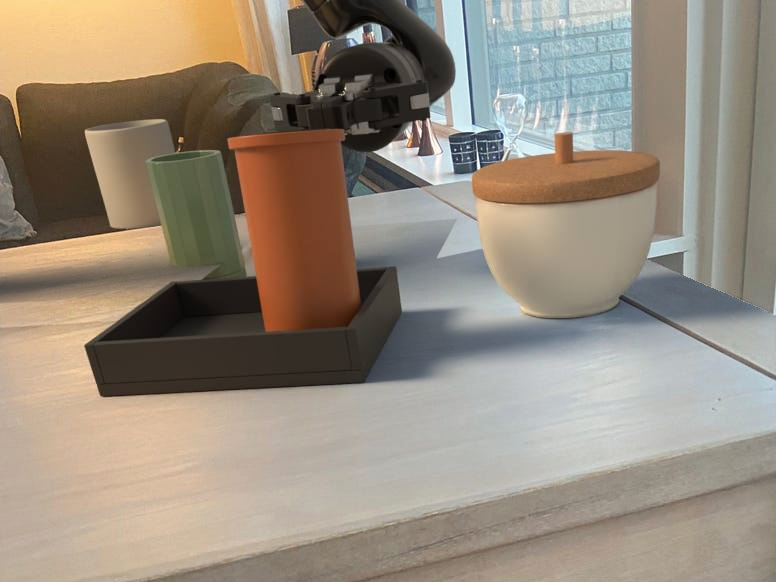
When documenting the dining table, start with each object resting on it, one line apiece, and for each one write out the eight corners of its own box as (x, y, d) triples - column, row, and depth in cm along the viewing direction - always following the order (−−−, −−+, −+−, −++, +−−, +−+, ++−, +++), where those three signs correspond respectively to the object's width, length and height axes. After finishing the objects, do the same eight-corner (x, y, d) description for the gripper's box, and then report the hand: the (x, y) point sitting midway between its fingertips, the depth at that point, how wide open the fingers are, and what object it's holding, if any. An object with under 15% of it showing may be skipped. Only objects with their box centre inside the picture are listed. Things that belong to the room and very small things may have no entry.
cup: (166, 291, 83) (133, 164, 78) (190, 273, 88) (161, 153, 83) (234, 286, 82) (206, 158, 77) (255, 269, 88) (229, 147, 82)
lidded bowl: (591, 272, 76) (588, 116, 70) (694, 302, 67) (701, 125, 61) (452, 305, 72) (435, 141, 65) (541, 342, 62) (532, 155, 56)
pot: (249, 352, 60) (210, 137, 55) (280, 332, 67) (248, 137, 61) (356, 345, 60) (328, 126, 54) (378, 326, 66) (354, 127, 60)
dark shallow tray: (99, 396, 61) (83, 345, 59) (182, 326, 73) (170, 281, 71) (363, 382, 59) (355, 328, 57) (402, 312, 71) (396, 266, 69)
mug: (191, 240, 101) (163, 124, 95) (109, 250, 101) (75, 134, 94) (200, 220, 111) (175, 113, 105) (126, 229, 110) (96, 122, 104)
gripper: (285, 50, 79) (219, 65, 65) (443, 35, 77) (411, 47, 63) (302, 151, 83) (244, 186, 69) (452, 139, 82) (424, 172, 67)
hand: (324, 120), depth 66 cm, fingers closed
